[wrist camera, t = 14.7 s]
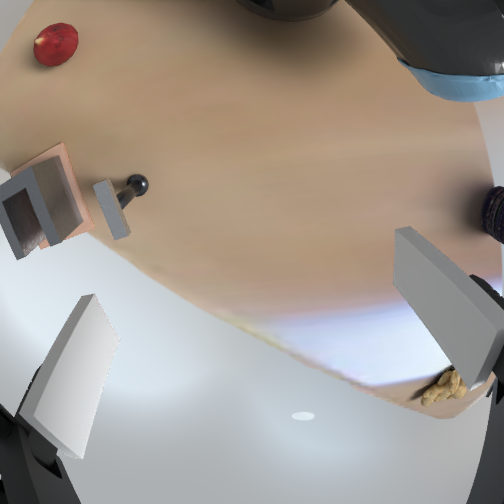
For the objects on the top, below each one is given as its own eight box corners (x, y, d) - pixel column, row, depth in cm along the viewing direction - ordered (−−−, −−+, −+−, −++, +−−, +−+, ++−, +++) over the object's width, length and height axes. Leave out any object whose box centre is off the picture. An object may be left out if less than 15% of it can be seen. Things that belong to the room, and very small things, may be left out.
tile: (12, 172, 33) (9, 173, 32) (63, 142, 32) (61, 142, 32) (42, 247, 39) (40, 249, 38) (94, 227, 38) (93, 229, 38)
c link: (16, 179, 33) (-12, 193, 27) (59, 155, 32) (31, 165, 26) (40, 238, 37) (17, 260, 31) (83, 221, 37) (61, 242, 31)
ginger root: (481, 360, 61) (490, 383, 55) (441, 388, 70) (447, 411, 64) (457, 351, 57) (466, 378, 51) (412, 383, 67) (418, 409, 60)
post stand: (121, 167, 35) (87, 187, 26) (140, 159, 35) (111, 178, 25) (136, 208, 38) (110, 241, 28) (155, 202, 38) (133, 234, 28)
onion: (75, 21, 25) (46, 7, 18) (95, 45, 27) (66, 33, 20) (45, 52, 26) (13, 45, 19) (64, 76, 28) (31, 73, 21)
